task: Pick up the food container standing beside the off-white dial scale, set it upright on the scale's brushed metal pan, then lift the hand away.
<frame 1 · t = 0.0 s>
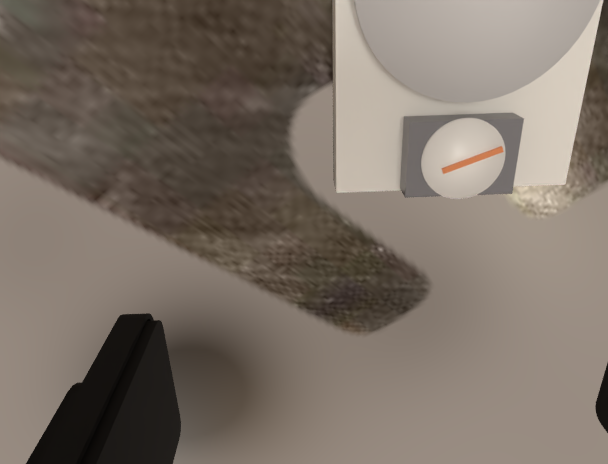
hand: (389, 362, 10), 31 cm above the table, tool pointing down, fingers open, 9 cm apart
dial scale: (454, 21, 36), on the table
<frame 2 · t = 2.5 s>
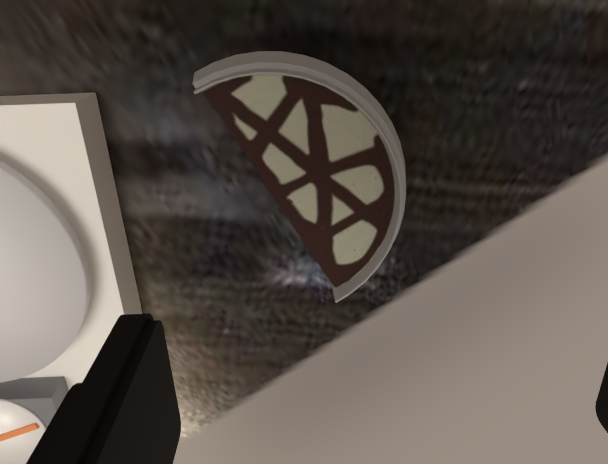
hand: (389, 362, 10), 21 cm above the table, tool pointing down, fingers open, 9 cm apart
dial scale: (1, 277, 33), on the table
food container: (321, 117, 29), on the table
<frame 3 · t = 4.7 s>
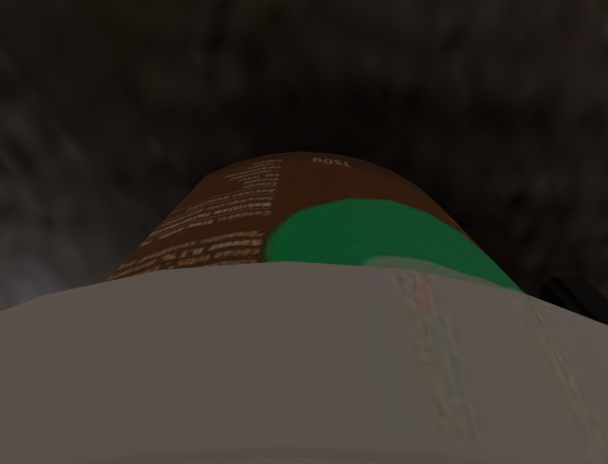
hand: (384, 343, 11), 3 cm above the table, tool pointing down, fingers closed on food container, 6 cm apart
food container: (396, 271, 13), on the table, touching gripper
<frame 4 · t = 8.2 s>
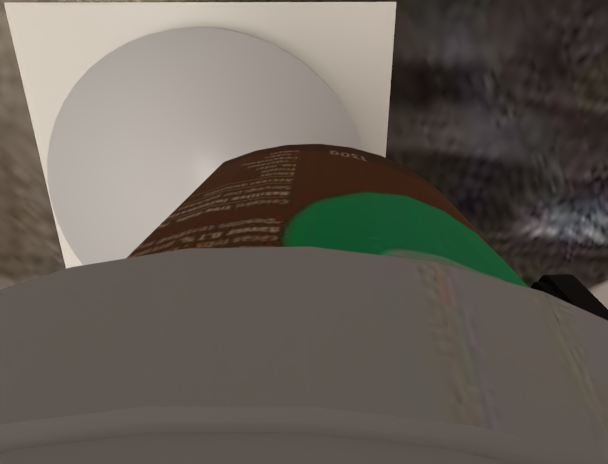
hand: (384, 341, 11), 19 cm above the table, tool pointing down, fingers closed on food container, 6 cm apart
dial scale: (227, 217, 30), on the table
food container: (406, 268, 13), point 16 cm above the table, touching gripper
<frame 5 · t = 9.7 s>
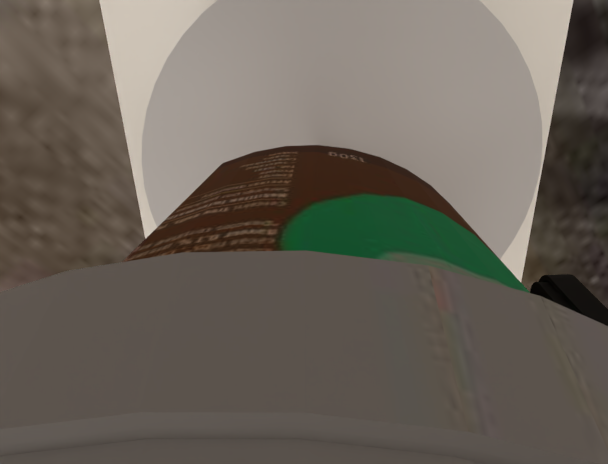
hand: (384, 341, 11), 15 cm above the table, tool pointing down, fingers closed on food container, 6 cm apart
dial scale: (334, 203, 25), on the table
food container: (405, 269, 13), point 12 cm above the table, touching gripper
when the fingers open (9 cm above the table, at t = 11.2 s): food container moves 1 cm, resting on dial scale.
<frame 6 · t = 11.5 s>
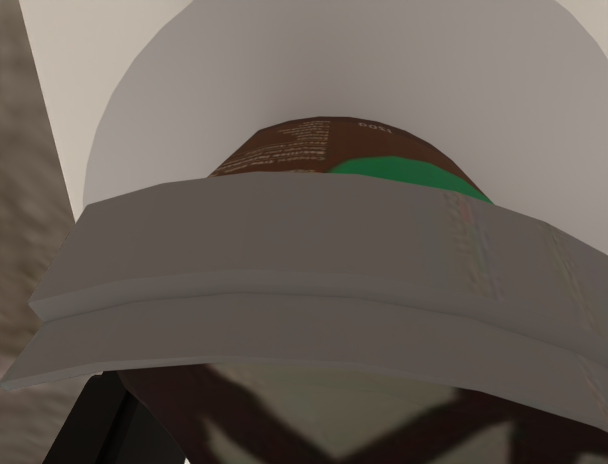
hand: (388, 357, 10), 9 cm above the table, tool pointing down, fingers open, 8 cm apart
dial scale: (346, 264, 20), on the table
food container: (422, 239, 14), point 5 cm above the table, touching dial scale, gripper
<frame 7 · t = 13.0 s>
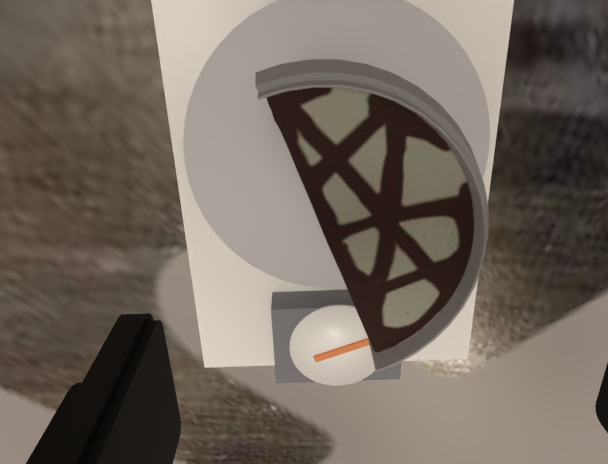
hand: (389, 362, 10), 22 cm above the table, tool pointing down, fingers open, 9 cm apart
dial scale: (331, 182, 31), on the table
food container: (369, 145, 26), point 5 cm above the table, touching dial scale
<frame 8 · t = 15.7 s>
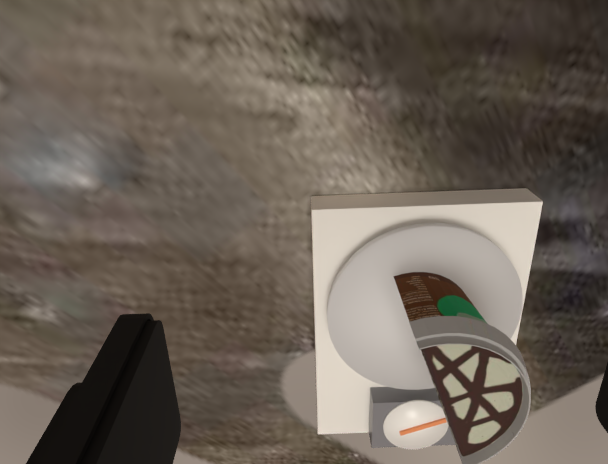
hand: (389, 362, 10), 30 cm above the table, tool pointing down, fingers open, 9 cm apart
dial scale: (409, 312, 46), on the table
food container: (445, 308, 40), point 5 cm above the table, touching dial scale
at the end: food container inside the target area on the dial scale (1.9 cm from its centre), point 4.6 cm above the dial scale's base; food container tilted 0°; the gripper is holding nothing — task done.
